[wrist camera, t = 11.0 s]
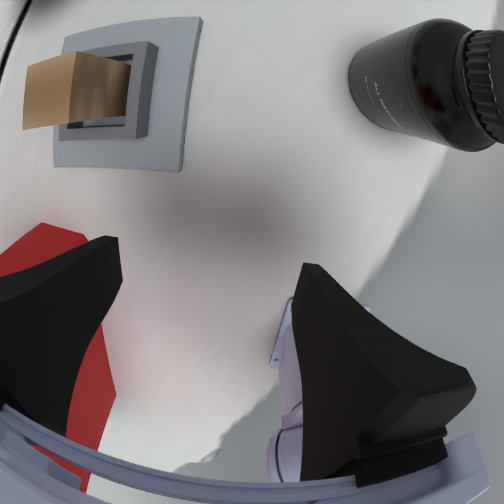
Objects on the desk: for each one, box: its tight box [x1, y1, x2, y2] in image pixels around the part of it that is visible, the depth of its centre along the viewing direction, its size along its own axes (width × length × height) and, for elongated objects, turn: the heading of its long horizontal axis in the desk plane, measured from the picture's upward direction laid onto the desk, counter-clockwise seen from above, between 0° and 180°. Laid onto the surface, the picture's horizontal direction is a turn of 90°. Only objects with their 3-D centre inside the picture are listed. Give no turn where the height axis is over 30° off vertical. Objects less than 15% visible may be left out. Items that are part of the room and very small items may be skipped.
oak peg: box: [23, 51, 132, 130], centre depth 11 cm, size 4×4×7 cm
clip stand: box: [53, 17, 203, 172], centre depth 14 cm, size 11×11×3 cm
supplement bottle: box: [350, 18, 504, 152], centre depth 9 cm, size 7×7×12 cm
